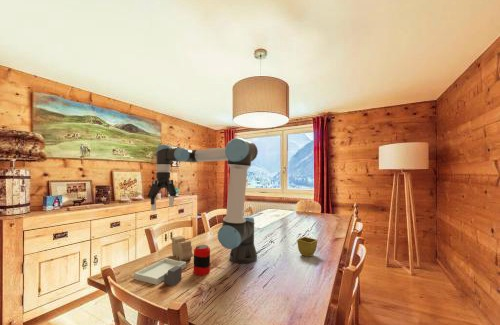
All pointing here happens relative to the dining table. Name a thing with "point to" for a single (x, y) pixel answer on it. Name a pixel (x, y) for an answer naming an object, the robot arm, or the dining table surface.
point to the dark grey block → (173, 276)
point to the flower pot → (307, 246)
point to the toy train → (181, 248)
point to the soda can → (201, 260)
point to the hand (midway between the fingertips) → (162, 208)
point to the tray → (157, 271)
